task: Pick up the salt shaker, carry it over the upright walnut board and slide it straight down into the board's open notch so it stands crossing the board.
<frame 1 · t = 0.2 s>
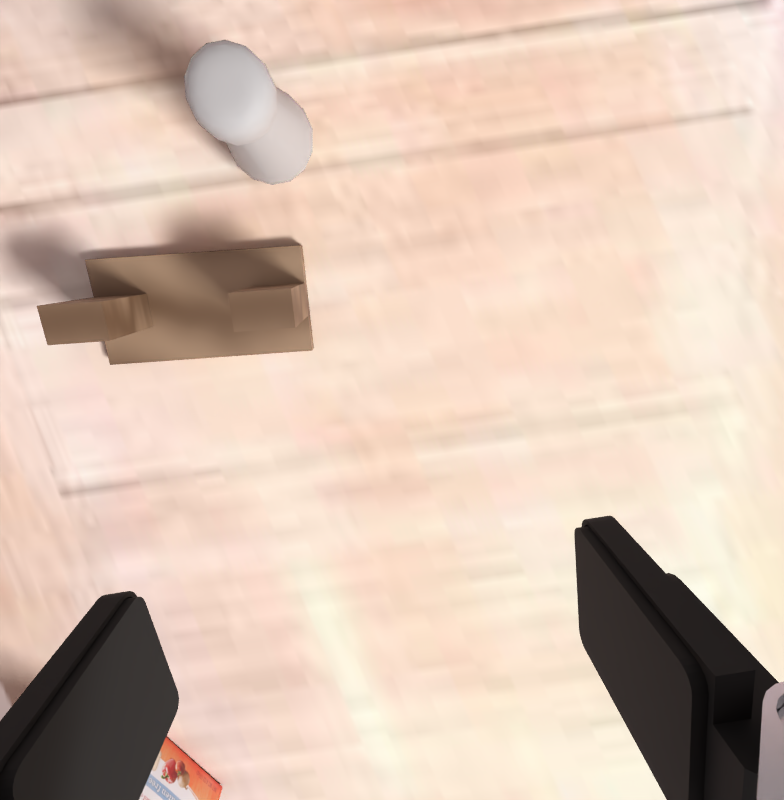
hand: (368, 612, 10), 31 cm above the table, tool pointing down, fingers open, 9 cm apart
cracker box: (163, 755, 52), on the table
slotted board: (206, 305, 38), on the table
salt shaker: (277, 146, 35), on the table
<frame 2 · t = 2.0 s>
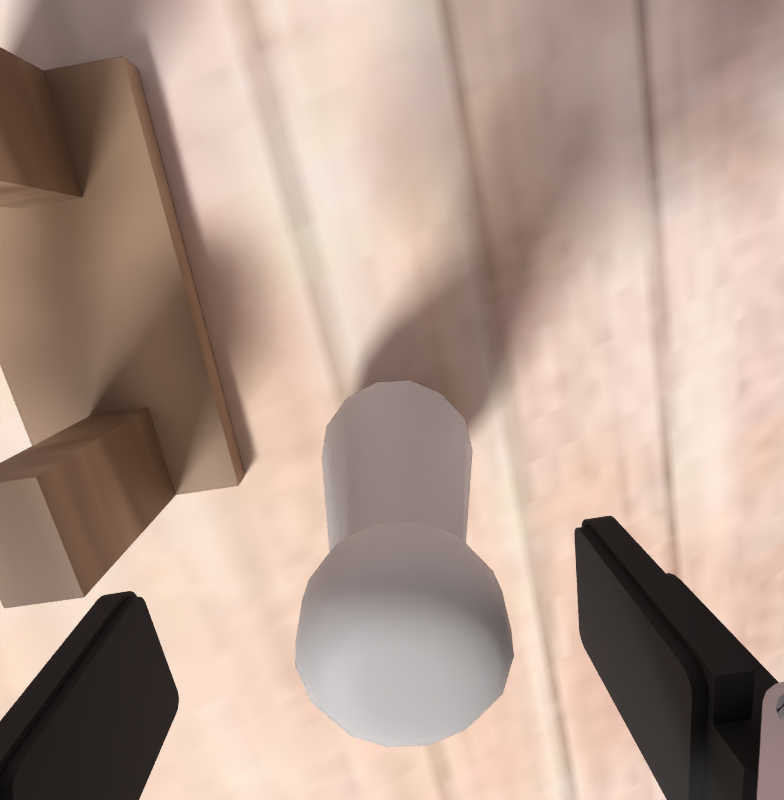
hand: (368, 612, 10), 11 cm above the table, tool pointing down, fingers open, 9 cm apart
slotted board: (101, 311, 19), on the table
salt shaker: (395, 430, 21), on the table
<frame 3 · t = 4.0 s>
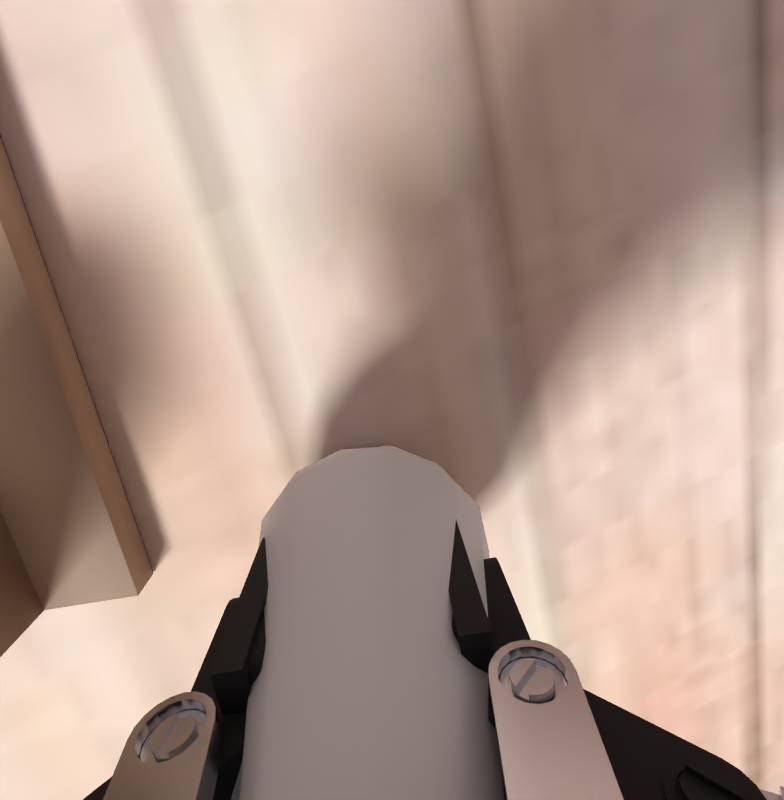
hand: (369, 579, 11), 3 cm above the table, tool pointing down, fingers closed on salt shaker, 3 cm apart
salt shaker: (373, 505, 15), on the table, touching gripper
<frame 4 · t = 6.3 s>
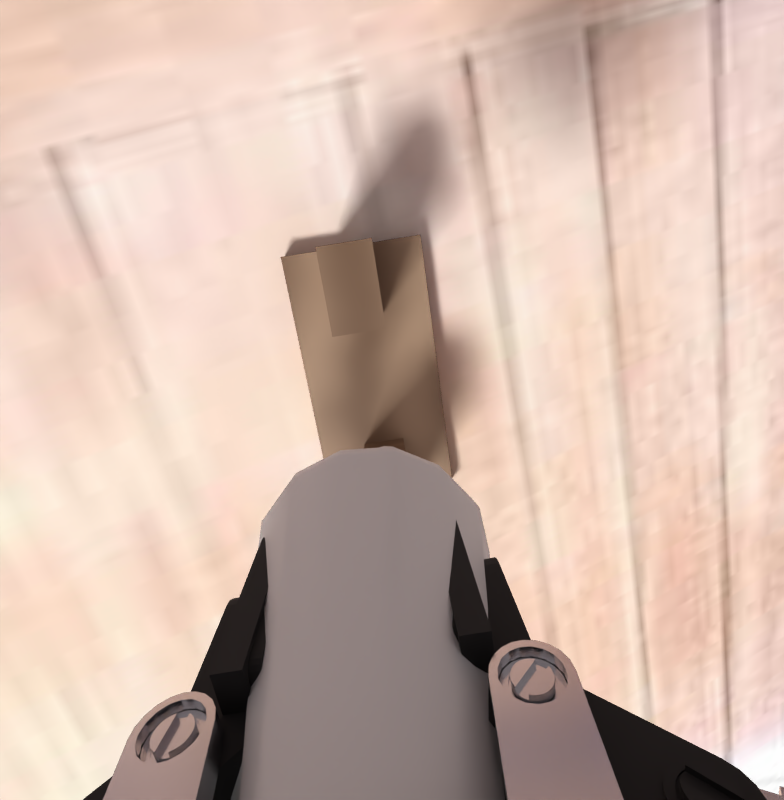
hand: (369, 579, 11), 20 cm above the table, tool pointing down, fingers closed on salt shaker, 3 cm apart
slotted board: (373, 377, 30), on the table
salt shaker: (373, 506, 15), point 17 cm above the table, touching gripper
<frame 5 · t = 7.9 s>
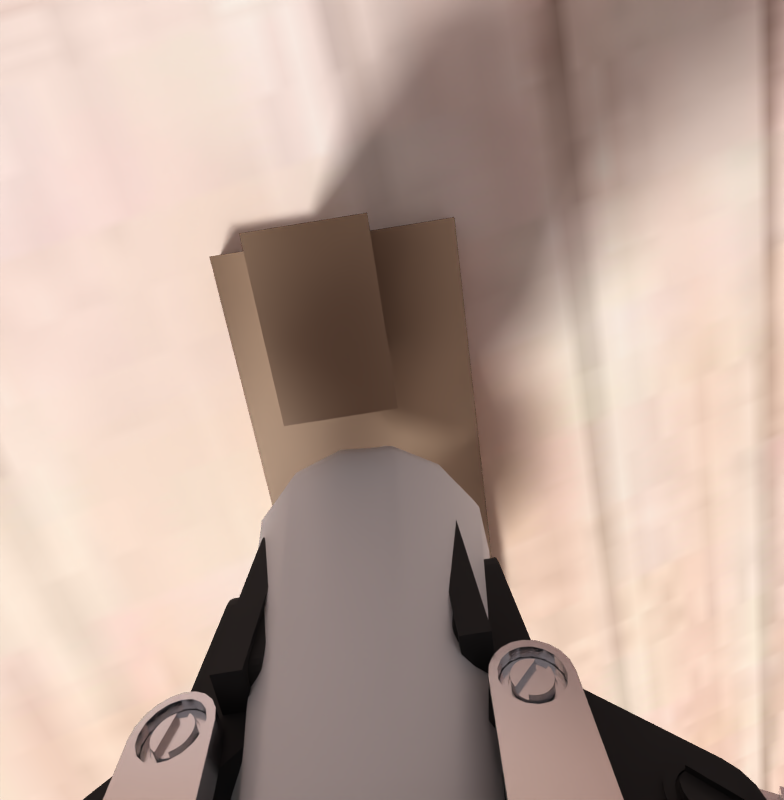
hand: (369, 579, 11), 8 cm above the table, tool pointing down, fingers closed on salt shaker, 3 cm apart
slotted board: (372, 451, 19), on the table
salt shaker: (373, 506, 15), point 4 cm above the table, touching gripper
when the fingers open (6 cm above the table, at t = 8.9 s): salt shaker drops 1 cm, resting on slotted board.
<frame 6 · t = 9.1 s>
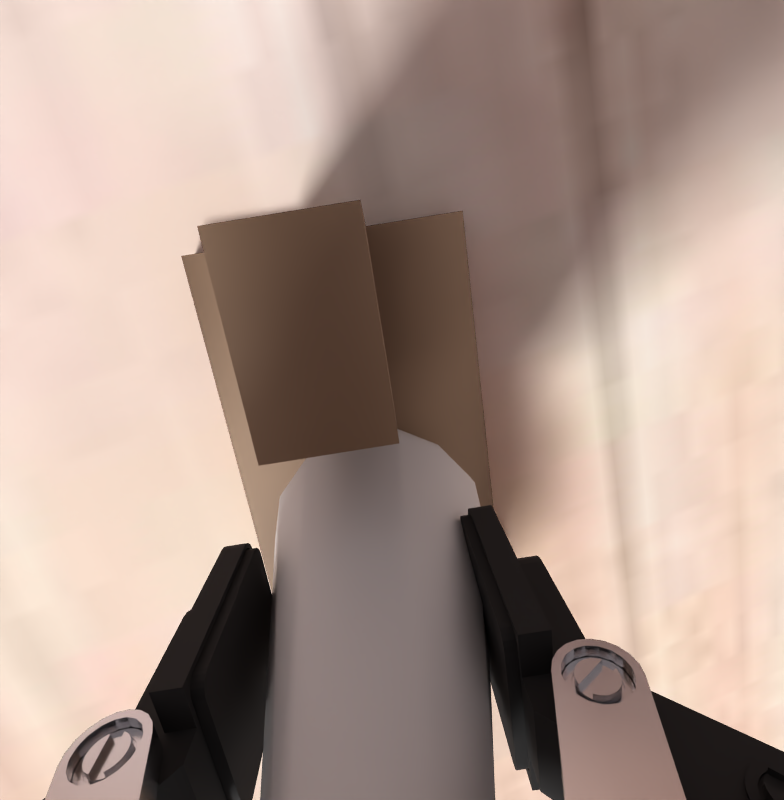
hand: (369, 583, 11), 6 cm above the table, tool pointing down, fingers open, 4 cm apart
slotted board: (369, 474, 17), on the table
salt shaker: (379, 484, 16), point 1 cm above the table, touching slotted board
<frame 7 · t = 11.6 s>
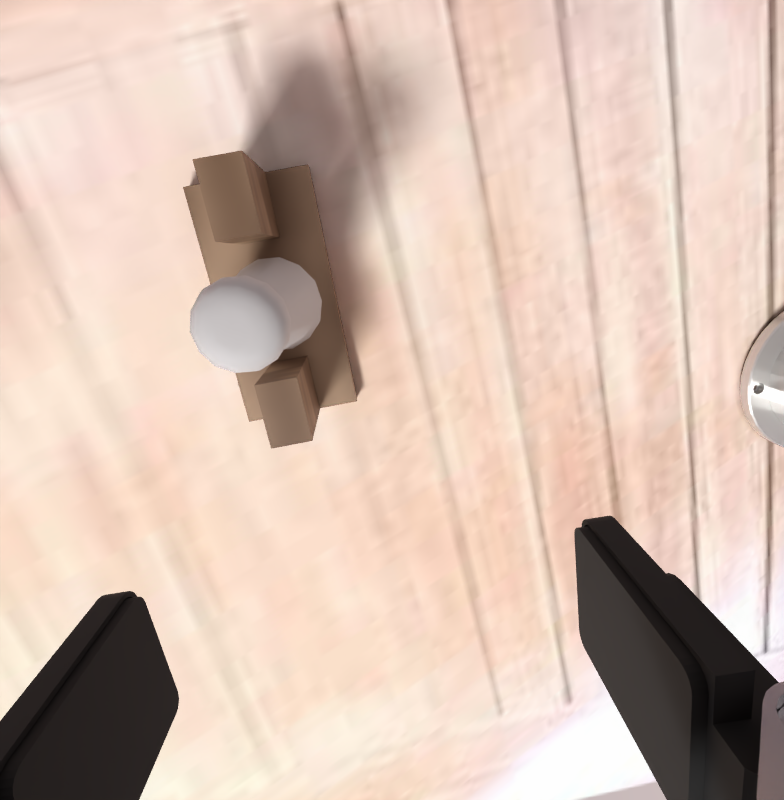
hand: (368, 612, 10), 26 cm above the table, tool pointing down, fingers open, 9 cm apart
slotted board: (278, 300, 34), on the table
salt shaker: (281, 301, 33), point 1 cm above the table, touching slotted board
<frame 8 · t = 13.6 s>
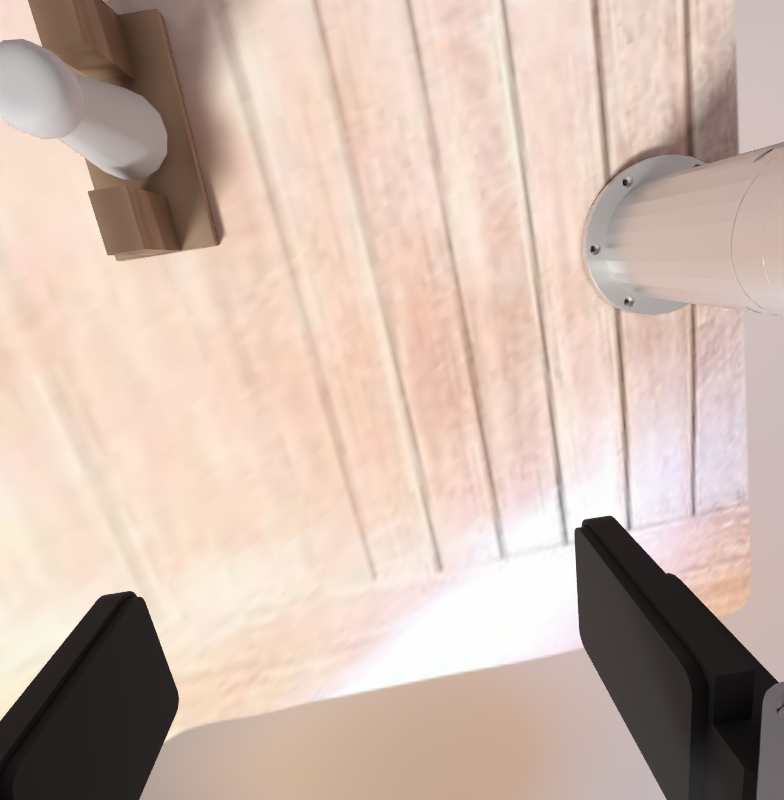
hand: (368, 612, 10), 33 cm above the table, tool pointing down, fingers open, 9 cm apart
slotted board: (141, 146, 37), on the table
salt shaker: (141, 143, 36), point 1 cm above the table, touching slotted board
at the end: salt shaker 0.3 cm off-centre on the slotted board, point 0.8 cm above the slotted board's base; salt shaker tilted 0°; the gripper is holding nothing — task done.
